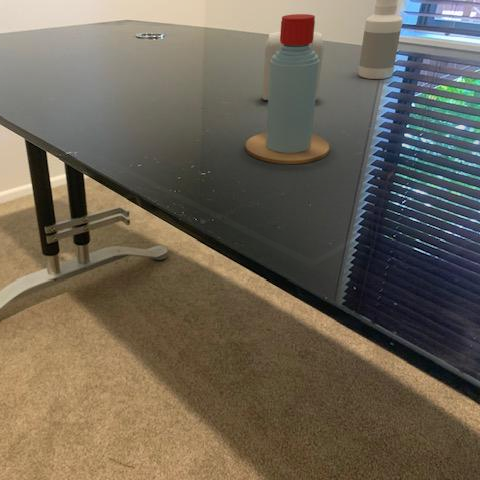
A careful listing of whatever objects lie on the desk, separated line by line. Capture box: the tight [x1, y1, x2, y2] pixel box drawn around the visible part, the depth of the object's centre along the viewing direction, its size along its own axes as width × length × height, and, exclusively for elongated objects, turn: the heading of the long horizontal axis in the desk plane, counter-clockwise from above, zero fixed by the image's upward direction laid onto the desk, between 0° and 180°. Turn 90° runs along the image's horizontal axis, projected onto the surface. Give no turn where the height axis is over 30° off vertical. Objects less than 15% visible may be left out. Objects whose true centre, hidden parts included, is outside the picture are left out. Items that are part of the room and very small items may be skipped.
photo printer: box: [261, 30, 325, 101], centre depth 92 cm, size 10×4×12 cm, turn 78°
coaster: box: [244, 132, 330, 165], centre depth 74 cm, size 12×12×1 cm
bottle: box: [265, 44, 320, 153], centre depth 69 cm, size 6×6×17 cm
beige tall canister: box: [357, 0, 403, 80], centre depth 102 cm, size 7×7×18 cm
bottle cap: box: [280, 13, 316, 45], centre depth 66 cm, size 4×4×3 cm
